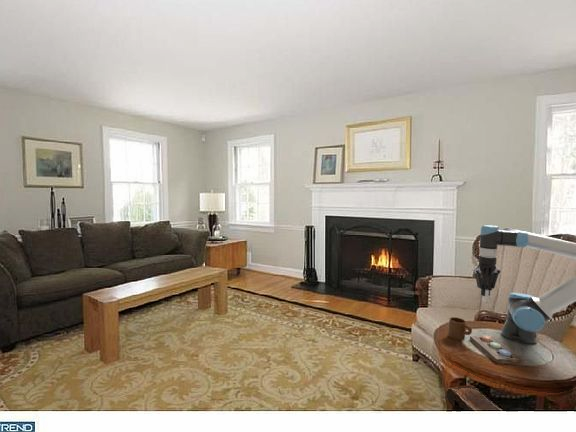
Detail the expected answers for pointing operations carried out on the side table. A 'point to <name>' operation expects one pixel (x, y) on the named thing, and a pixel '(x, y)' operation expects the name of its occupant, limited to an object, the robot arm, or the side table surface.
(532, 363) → the side table surface
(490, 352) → the button panel
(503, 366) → the side table surface
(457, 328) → the mug
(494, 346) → the sage button
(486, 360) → the side table surface
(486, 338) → the terracotta button
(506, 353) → the blue button
